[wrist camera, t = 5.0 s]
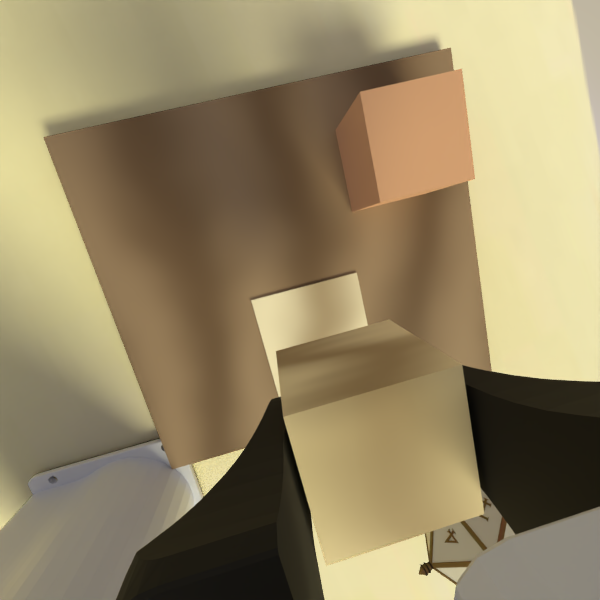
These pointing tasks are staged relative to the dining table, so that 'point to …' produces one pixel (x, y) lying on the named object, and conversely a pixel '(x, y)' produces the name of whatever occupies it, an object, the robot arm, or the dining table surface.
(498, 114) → the dining table surface
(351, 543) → the birch block
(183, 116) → the brown wooden board
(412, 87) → the terracotta block
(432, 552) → the game die
